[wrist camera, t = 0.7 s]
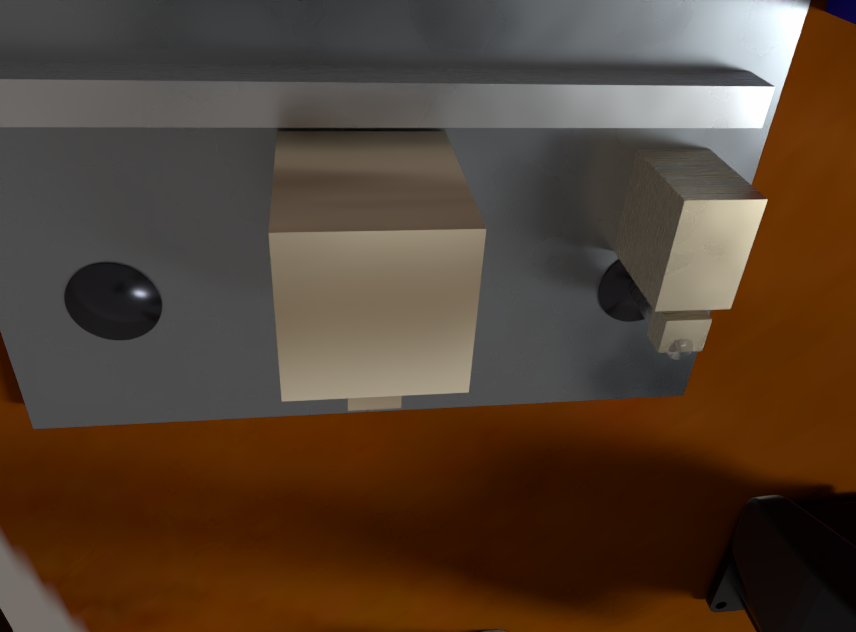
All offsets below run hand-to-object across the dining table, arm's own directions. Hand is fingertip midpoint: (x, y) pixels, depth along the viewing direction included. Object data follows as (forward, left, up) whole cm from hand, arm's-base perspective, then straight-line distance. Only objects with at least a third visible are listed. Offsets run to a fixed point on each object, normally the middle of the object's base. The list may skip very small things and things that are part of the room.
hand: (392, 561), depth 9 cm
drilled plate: (-1, -1, -13) cm, 13 cm away
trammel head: (-2, 0, -11) cm, 12 cm away
